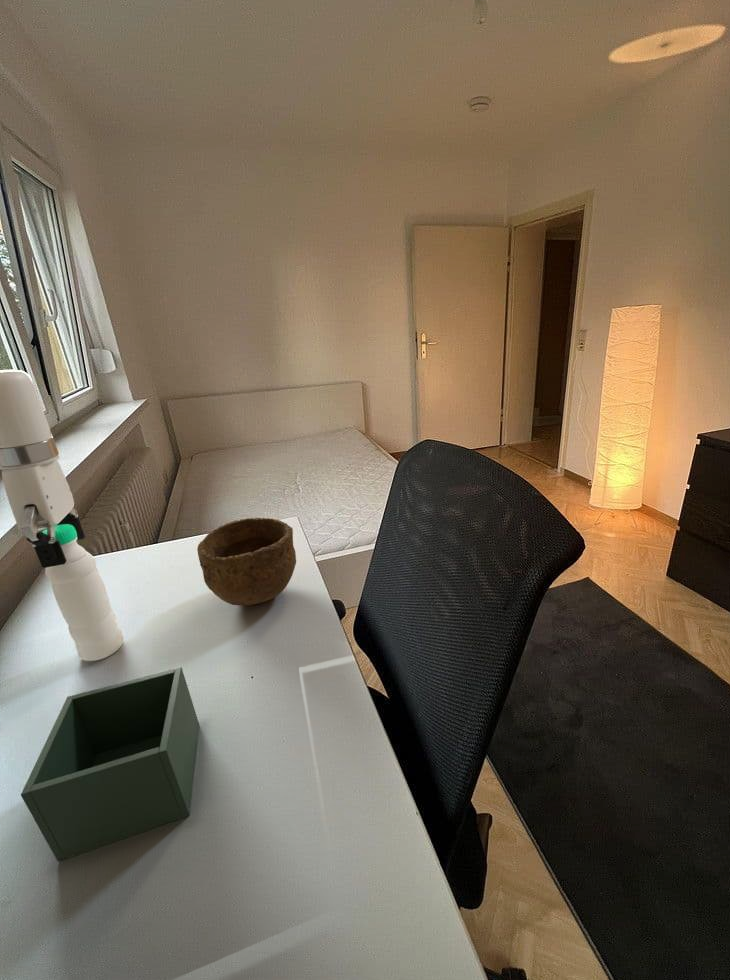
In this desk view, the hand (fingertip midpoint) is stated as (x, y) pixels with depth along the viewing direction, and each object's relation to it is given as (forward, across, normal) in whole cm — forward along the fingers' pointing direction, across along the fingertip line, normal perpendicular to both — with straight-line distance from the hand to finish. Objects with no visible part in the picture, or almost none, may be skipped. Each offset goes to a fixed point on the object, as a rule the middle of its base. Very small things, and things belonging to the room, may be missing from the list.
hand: (65, 551), depth 74 cm
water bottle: (+21, 0, 0) cm, 21 cm away
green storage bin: (+21, +32, +12) cm, 40 cm away
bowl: (+21, -6, +28) cm, 35 cm away
